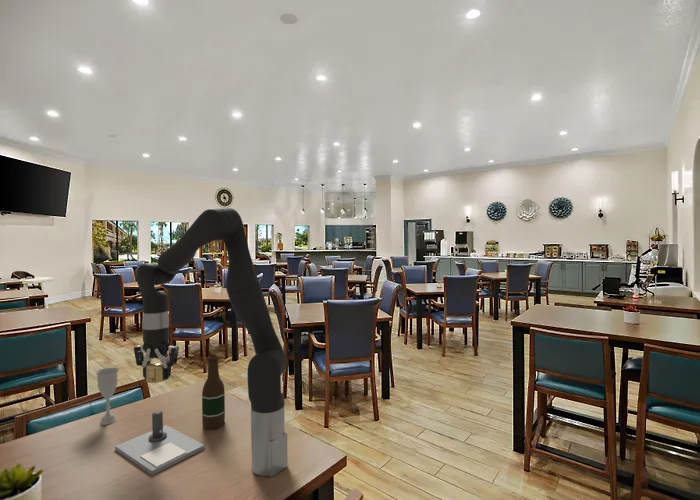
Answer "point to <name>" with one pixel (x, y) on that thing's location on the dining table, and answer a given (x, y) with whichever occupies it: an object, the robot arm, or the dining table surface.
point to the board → (159, 447)
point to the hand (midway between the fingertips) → (157, 378)
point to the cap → (154, 372)
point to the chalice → (107, 391)
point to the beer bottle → (213, 397)
